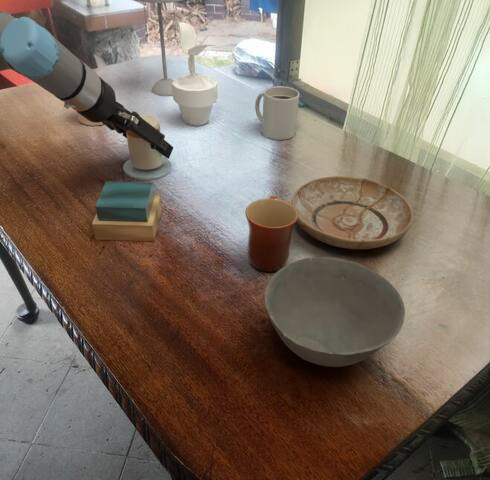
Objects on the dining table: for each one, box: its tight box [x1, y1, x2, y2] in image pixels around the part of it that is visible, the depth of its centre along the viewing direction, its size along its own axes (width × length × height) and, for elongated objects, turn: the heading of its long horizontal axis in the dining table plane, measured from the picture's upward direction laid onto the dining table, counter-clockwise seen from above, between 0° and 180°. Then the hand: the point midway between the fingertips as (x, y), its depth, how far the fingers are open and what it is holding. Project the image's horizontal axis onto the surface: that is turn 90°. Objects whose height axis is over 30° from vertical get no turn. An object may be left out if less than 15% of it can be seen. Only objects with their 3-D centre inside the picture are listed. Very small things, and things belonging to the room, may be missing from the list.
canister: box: [125, 114, 164, 169], centre depth 100 cm, size 7×7×9 cm
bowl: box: [264, 256, 406, 368], centre depth 65 cm, size 19×19×10 cm
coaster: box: [122, 156, 173, 181], centre depth 104 cm, size 11×11×1 cm
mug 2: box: [245, 195, 298, 273], centre depth 79 cm, size 12×9×10 cm
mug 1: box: [254, 85, 300, 141], centre depth 116 cm, size 11×10×10 cm
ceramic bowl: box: [290, 175, 414, 250], centre depth 89 cm, size 23×24×5 cm
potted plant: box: [166, 13, 218, 127], centre depth 113 cm, size 13×12×25 cm
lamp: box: [133, 0, 184, 97], centre depth 125 cm, size 17×17×33 cm
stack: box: [91, 180, 163, 242], centre depth 86 cm, size 11×11×6 cm
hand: (156, 147), depth 103 cm, fingers closed on canister, 7 cm apart
